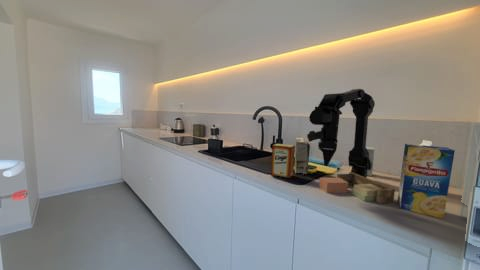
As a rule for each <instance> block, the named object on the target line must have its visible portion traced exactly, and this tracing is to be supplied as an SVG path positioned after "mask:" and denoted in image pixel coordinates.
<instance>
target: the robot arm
mask: <svg viewBox="0 0 480 270" xmlns="http://www.w3.org/2000/svg"><path fill="white" fill-rule="evenodd" d="M348 102H349V104H350V106H351V108H352V113H353V116H354V117H355V128H354V129H355V130H354V141H353V142H354V143H353V148H352V149H351V150H349V151H348V157H347V158H348V166H349V167H351V170H350V172H353V173H355V174H358V175H360V176H363V177H365V178H368V176H367V170H371V168H372V163H371V161H370V158H369V152H368V151H367V149H366V147H367V136H368V125H369V124H368V123H369V117H370V116H371V115H372V113H373V112H374V108H375V103H376V102H375V100H374V98H373V96H372V95H371V94H369V93H367V92H365V90H364V89H362V88H355V89H350V90H348V91H344V92H339V93H326V94H324V95H323V97H322V99H321V100H320V102H319V104H318V106H315V107H314V109H313V110H312V111H311V113H310V115H309V117H308V119H309V121H310V123H311V124H312V125H315V126H322V127H321V129H320V130H319V131H315V130H310V131H309V133H308V134H307V135H306V136H307V139H308V140H307V141H308V142H313V141H316V140H319V141H318V145H317V148H318V150H320V151H321V152H322V158H323V165H324V166H326V167H328V166H329V164H330V162H331V161H332V158H333V157H334V155H335V154H336V152H337V148H338V142H339V140H338V134H339V133H338V132H339V125H340V115H341V116H342V115H343V112H342V111H341V110H340V109H341V108H344V106H346V104H347V103H348Z"/></svg>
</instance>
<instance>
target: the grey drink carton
mask: <svg viewBox="0 0 480 270" xmlns="http://www.w3.org/2000/svg"><path fill="white" fill-rule="evenodd" d="M310 149H311V144H310V143H308V142H306V141H296V142H295V154H294V167H295V170H294V173H295V174H296V173H303V174H302V175H304V174H307V173H309V172H308V171H309V160H310V159H309V158H310ZM307 175H308V174H307Z"/></svg>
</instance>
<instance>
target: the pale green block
mask: <svg viewBox="0 0 480 270" xmlns="http://www.w3.org/2000/svg"><path fill="white" fill-rule="evenodd" d="M377 189H382V188H379V187H377V186H374V185H372V184H359V185H353V188H351V193H350V194H351V195H352V196H354V197H356V198H358V199H359V200H361V201H363V202H374V201H375V202H376V198H377Z"/></svg>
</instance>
